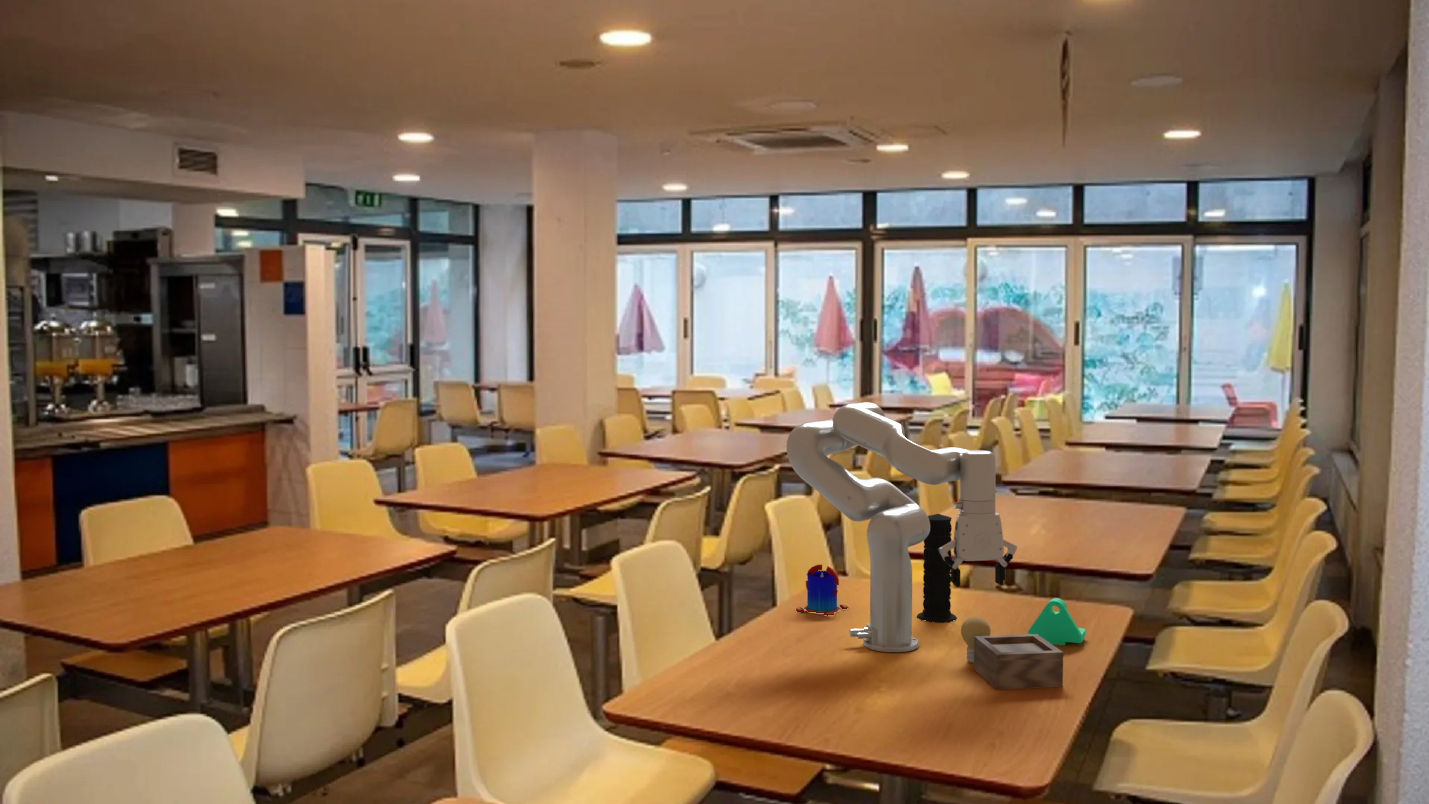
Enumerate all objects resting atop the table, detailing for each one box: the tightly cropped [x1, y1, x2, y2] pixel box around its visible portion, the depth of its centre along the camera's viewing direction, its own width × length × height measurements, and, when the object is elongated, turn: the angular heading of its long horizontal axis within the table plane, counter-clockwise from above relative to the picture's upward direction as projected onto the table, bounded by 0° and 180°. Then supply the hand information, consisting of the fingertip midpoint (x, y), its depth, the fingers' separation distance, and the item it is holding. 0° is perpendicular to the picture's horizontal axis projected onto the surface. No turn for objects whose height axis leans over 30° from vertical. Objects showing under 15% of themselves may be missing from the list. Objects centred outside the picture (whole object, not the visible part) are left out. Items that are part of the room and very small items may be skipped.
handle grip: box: [916, 513, 958, 624], centre depth 299 cm, size 10×26×10 cm
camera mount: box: [1027, 597, 1086, 646], centre depth 279 cm, size 12×8×10 cm, turn 65°
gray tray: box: [973, 633, 1064, 690], centre depth 251 cm, size 14×14×7 cm
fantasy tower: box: [795, 564, 849, 616], centre depth 308 cm, size 12×12×12 cm
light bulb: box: [960, 616, 991, 664], centre depth 262 cm, size 6×6×10 cm
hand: (977, 584), depth 261 cm, fingers open, 9 cm apart
